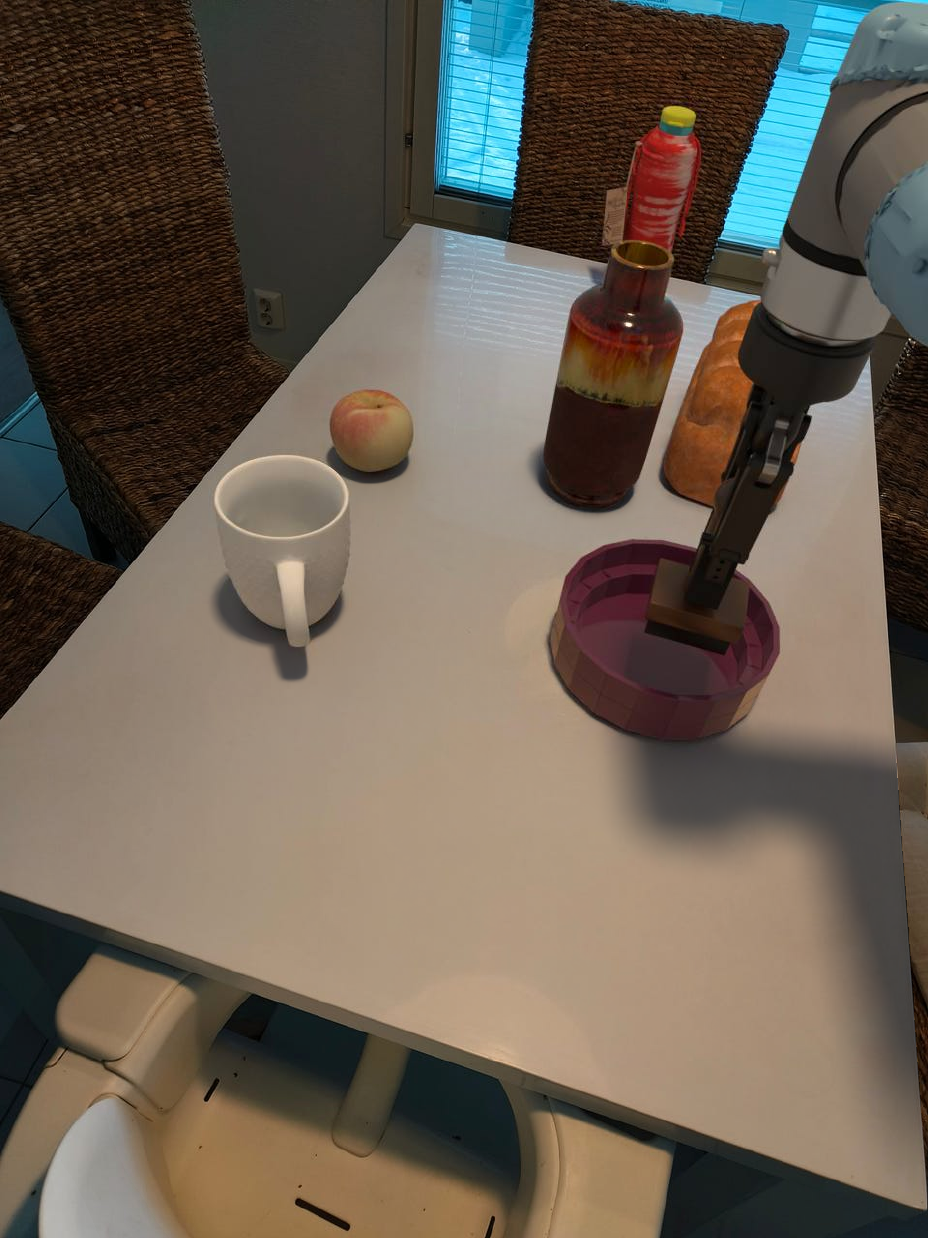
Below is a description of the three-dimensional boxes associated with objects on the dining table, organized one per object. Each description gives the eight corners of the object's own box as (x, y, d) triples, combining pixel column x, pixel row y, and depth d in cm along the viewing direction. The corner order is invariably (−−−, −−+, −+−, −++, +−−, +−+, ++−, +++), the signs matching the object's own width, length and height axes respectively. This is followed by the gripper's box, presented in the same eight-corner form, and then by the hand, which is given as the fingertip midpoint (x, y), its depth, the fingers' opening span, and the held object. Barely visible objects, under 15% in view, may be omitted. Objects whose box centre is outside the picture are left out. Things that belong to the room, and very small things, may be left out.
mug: (366, 674, 74) (366, 566, 65) (236, 690, 72) (217, 580, 62) (342, 558, 84) (340, 449, 74) (227, 569, 81) (210, 457, 72)
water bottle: (582, 292, 128) (619, 106, 109) (592, 271, 133) (628, 90, 115) (661, 310, 126) (712, 124, 108) (668, 287, 131) (717, 106, 113)
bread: (796, 406, 111) (845, 293, 100) (774, 527, 93) (831, 405, 82) (691, 379, 113) (728, 265, 102) (651, 491, 96) (690, 368, 85)
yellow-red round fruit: (316, 462, 94) (313, 400, 88) (368, 428, 99) (369, 367, 93) (377, 496, 91) (378, 434, 85) (427, 459, 96) (432, 398, 90)
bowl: (798, 711, 76) (825, 668, 71) (611, 769, 70) (628, 726, 65) (685, 568, 88) (702, 523, 83) (516, 607, 82) (525, 561, 77)
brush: (734, 614, 74) (801, 472, 62) (728, 660, 70) (799, 519, 59) (648, 590, 75) (699, 447, 63) (638, 634, 71) (690, 491, 60)
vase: (522, 461, 97) (561, 230, 78) (607, 447, 101) (664, 223, 82) (563, 522, 91) (617, 286, 72) (653, 505, 94) (727, 276, 75)
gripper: (763, 251, 58) (670, 516, 75) (745, 365, 47) (642, 643, 64) (876, 276, 56) (756, 539, 74) (884, 398, 46) (741, 672, 63)
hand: (703, 587), depth 69 cm, fingers closed on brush, 3 cm apart
